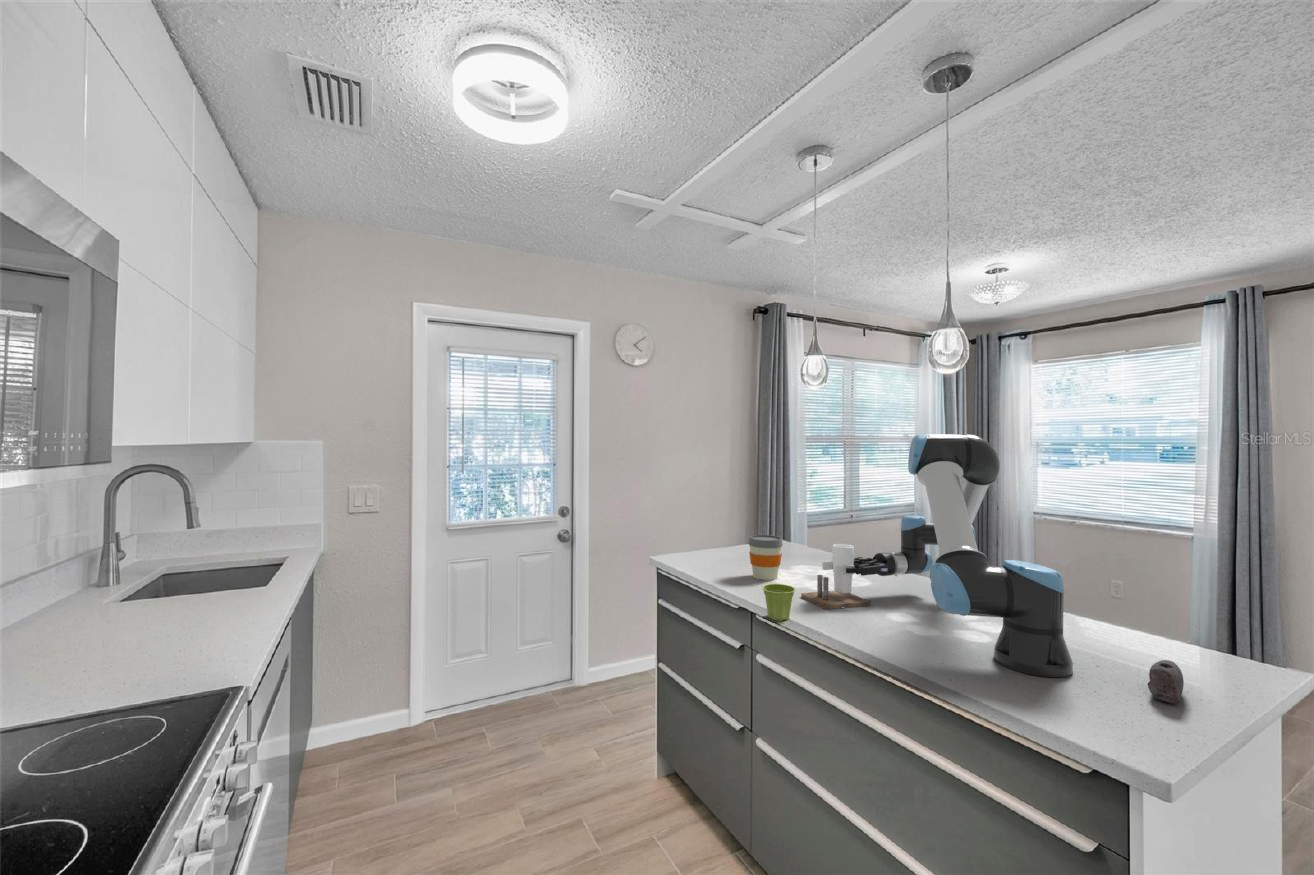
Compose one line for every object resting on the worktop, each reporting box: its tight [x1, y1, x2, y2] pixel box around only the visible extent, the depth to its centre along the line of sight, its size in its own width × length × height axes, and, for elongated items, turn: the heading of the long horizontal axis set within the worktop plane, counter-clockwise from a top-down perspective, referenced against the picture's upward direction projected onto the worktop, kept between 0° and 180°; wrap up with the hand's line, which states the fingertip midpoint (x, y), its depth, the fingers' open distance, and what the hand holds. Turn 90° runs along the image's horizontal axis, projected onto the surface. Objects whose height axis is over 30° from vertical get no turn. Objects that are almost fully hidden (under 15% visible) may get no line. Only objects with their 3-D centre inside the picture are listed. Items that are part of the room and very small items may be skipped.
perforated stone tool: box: [1147, 659, 1184, 705], centre depth 113 cm, size 15×5×7 cm, turn 132°
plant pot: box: [761, 583, 796, 622], centre depth 160 cm, size 9×9×9 cm
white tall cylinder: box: [831, 543, 855, 594], centre depth 178 cm, size 7×7×15 cm
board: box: [800, 574, 871, 610], centre depth 177 cm, size 16×14×8 cm
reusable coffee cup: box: [748, 534, 783, 581], centre depth 207 cm, size 13×13×15 cm
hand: (829, 568), depth 176 cm, fingers closed on white tall cylinder, 6 cm apart
